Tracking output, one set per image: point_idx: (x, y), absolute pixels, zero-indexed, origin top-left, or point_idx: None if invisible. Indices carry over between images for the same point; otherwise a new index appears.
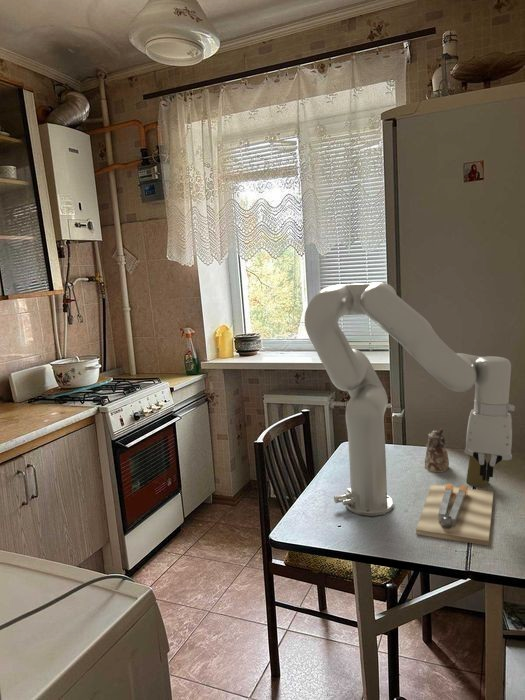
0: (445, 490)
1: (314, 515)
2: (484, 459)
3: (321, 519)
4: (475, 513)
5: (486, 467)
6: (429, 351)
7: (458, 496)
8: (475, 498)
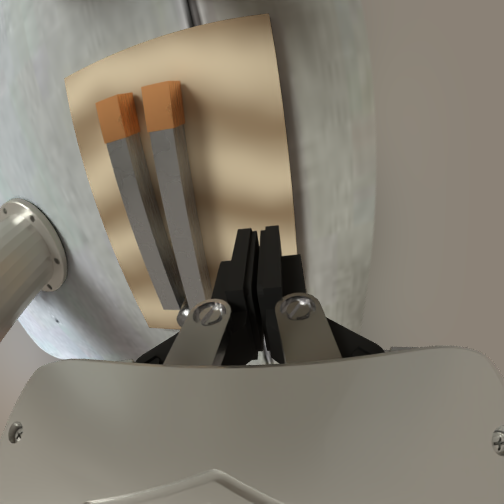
0: (112, 159)
1: None
2: (234, 345)
3: (32, 309)
4: (243, 213)
5: (256, 287)
6: None
7: (165, 187)
8: (216, 99)
